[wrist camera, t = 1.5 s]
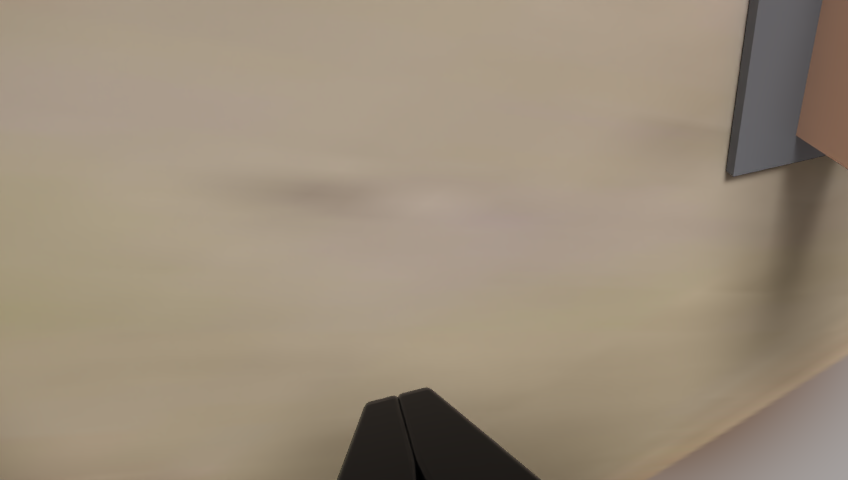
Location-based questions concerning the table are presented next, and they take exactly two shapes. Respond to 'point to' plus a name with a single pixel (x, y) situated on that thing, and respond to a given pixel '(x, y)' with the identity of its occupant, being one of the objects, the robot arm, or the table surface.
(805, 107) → the tile
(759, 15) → the mat
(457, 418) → the robot arm
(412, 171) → the table surface
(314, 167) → the table surface
